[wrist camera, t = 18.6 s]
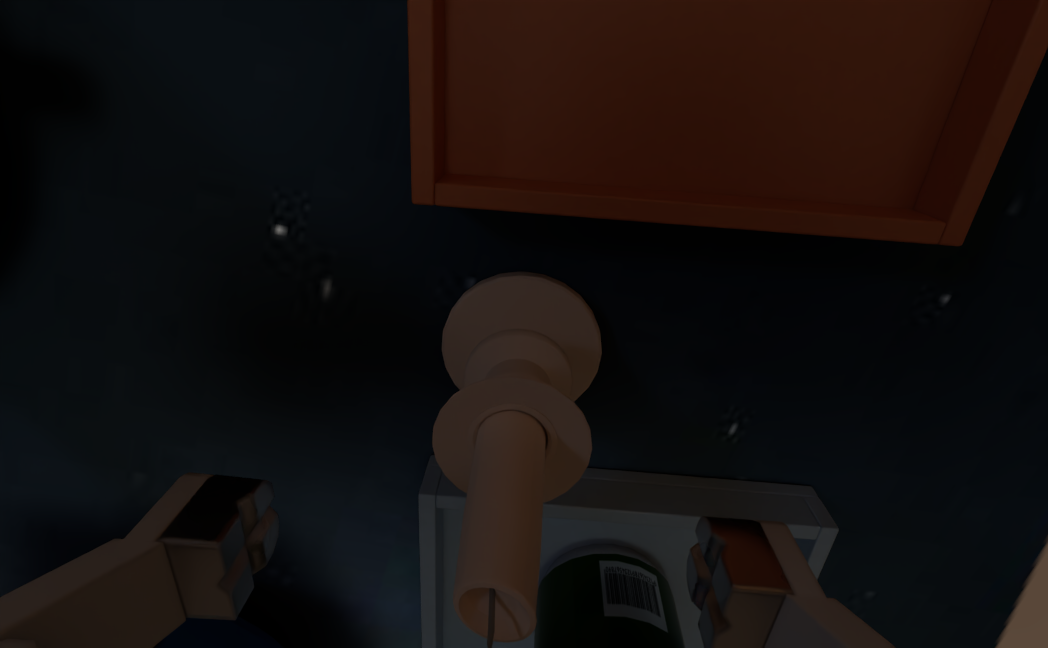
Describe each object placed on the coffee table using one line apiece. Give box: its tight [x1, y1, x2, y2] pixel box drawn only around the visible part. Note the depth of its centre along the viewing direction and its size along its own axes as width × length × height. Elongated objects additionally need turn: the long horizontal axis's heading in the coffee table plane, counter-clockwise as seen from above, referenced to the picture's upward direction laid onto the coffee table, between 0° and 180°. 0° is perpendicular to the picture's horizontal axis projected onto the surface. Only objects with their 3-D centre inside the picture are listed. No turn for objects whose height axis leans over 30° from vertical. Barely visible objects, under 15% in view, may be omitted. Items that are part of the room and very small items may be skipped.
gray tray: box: [418, 455, 839, 648], centre depth 21 cm, size 14×11×2 cm
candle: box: [432, 271, 602, 648], centre depth 13 cm, size 5×5×10 cm
